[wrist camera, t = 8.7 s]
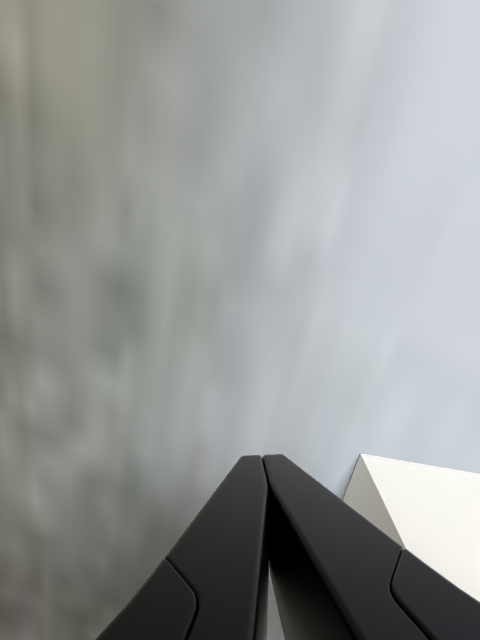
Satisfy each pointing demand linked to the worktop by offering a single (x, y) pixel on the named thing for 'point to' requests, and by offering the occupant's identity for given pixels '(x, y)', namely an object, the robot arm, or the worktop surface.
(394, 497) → the block
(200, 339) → the worktop surface
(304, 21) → the worktop surface
